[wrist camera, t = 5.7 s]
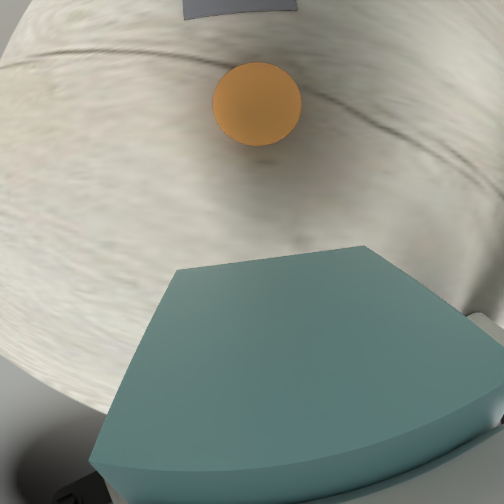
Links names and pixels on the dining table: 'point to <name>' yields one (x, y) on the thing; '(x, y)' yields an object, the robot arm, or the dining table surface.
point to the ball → (257, 104)
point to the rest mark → (233, 7)
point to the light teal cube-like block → (295, 383)
